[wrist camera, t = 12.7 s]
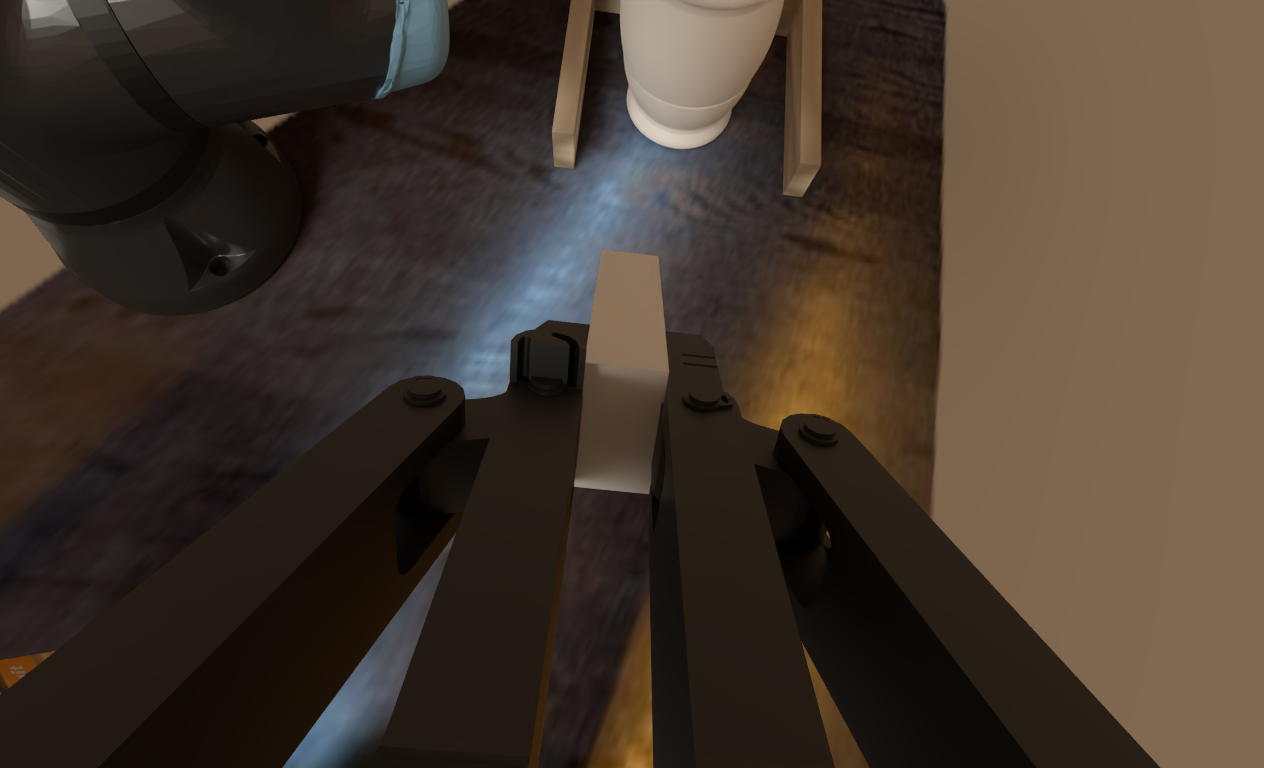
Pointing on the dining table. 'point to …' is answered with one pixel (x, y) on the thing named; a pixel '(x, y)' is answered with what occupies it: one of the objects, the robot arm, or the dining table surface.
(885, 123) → the dining table surface
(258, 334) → the dining table surface
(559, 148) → the bay
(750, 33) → the jar
